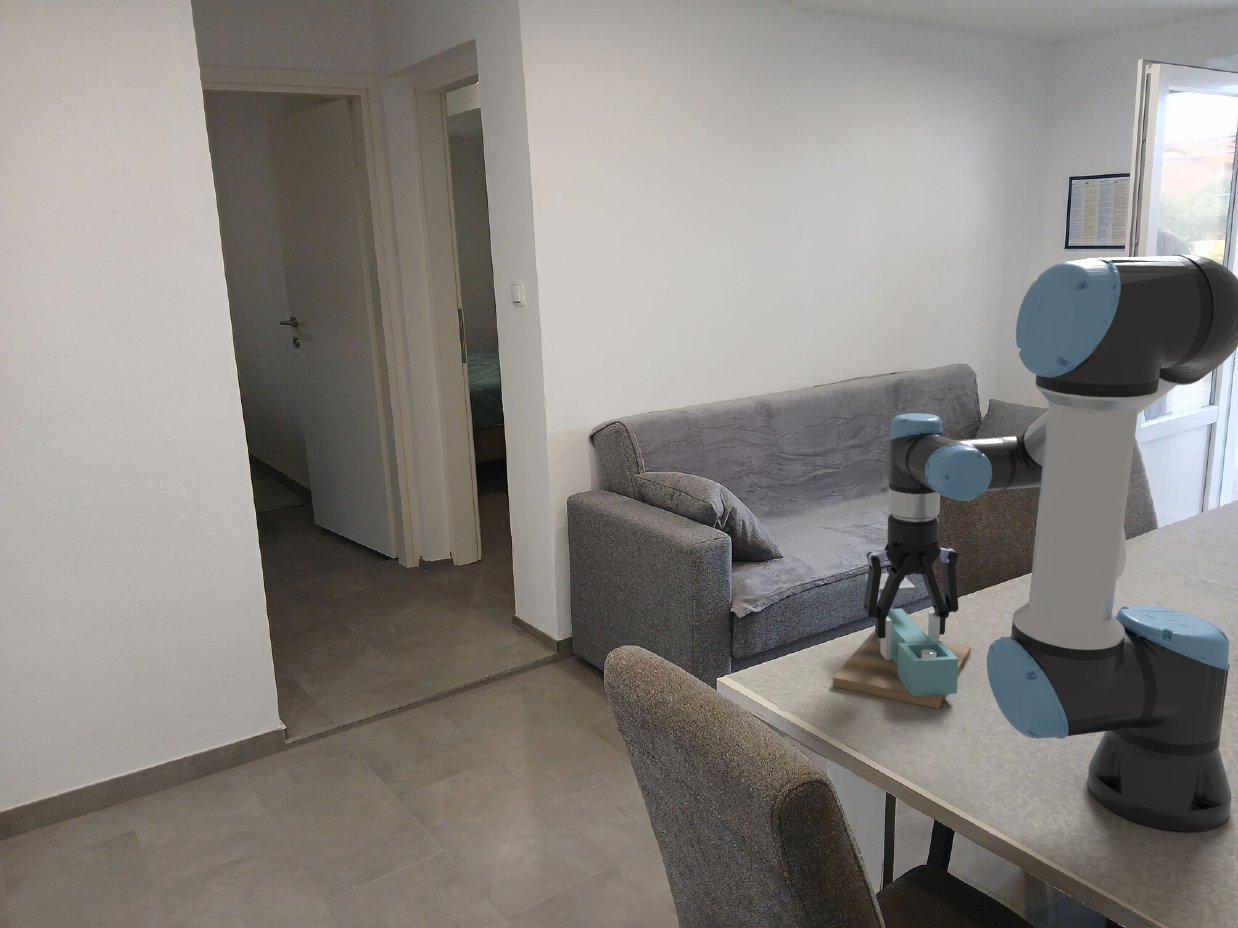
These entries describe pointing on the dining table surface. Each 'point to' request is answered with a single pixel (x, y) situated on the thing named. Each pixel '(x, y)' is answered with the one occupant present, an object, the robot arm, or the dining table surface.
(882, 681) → the board
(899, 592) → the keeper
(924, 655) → the cylinder
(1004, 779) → the dining table surface
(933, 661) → the link
